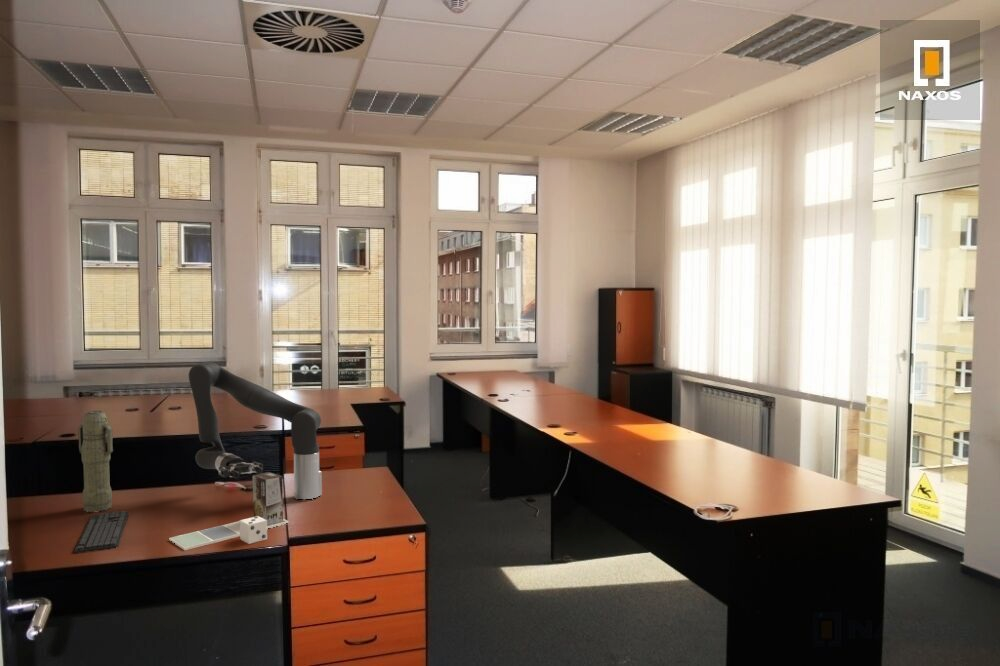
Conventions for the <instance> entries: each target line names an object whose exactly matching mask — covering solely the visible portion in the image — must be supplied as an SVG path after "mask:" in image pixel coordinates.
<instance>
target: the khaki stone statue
mask: <svg viewBox="0 0 1000 666" xmlns="http://www.w3.org/2000/svg"><path fill="white" fill-rule="evenodd" d="M108 423H109V422H108V417H107V415H106V412H104V411H102V410H90V411H87V412H86V413H84V415H83V419H82V424H80V426H79V427H78V430H77V431H78V451H79V454H81V462H82V464H83V490H82V504H83V512H84V511H88V512H94V511H102V512H104V511H103V510H106V509H109V508H111V506H113V505H112V501H113V494H112V493H113V492H112V487H111V485H110V481H111V480H110V461H111V454H112V453H113V452H114V447H113V439H114V437H113V434H114V433H113V428H112V426H111V424H108ZM111 509H112V508H111ZM109 510H110V509H109ZM106 511H107V510H106Z"/></svg>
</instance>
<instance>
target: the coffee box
mask: <svg viewBox="0 0 1000 666" xmlns="http://www.w3.org/2000/svg"><path fill="white" fill-rule="evenodd" d="M283 482H284V481H283V475H280V474H276V473H274V472H271V471H268V472H267V471H266V472H263V473H262V474H258V473H257V474H254V475H253V474H252V505H253V517H256V516H259V517H261V518H263V519H265V520H267V526H271V525H275V524H279V523H283V519H284V504H283V503H284V501H283V500H284V499H283V498H284V497H283V496H284V495H283V493H284V490H283Z"/></svg>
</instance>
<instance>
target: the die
mask: <svg viewBox="0 0 1000 666" xmlns="http://www.w3.org/2000/svg"><path fill="white" fill-rule="evenodd" d="M239 521H240V536H239V540H241V541H242V542H244V543H246V544H248V545H250V544H254V543H258V542H261V541H266V540H268V529H267V520H265V519H263V518H261V517H259V516H256V517H254V516H253V517H248V518H244V519H240V520H239Z"/></svg>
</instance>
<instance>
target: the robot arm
mask: <svg viewBox="0 0 1000 666" xmlns="http://www.w3.org/2000/svg"><path fill="white" fill-rule="evenodd" d="M188 381H189V384H190V385H189V386H190V390H191V392H192V396H193V402H194V406H195V411H196V416H197V425H198V438H199V442H201V443H211V444H212V446H209V447H206V448H202V449H200V450H198V451H197V452H196V453H195V457H194V458H195V462H196V465H198V466H199V467H200V468H202V469H206V470H216V471H218V476H220V477H223V478H225V479H226V478H228V477H229V478H234V479H240V476H241V475H244V474H252V473H256V474H257V475H258V474H262V473H264V464H263V463H261V462H257V461H252V462H251V463H250V462H245V460H244V458H242V457H240V456H238V455H235V454H233V453H230V452H229V453H228V452H226V449H225V447H224V446H223V443H222V440H221V437H220V430H219V420H218V414H217V412H216V411H215V410H216V409H215V408H214V406H213V403H212V402H213V401H212V397H211V387H214V388H217V389H220V390H222V391H223V392H226V393H228V394H229V395H230V396H231V397H232V398H234V399H235V400H236V401H237V402H238V403H239V404H241V406H243V407H245V408H247V409H250V410H252V411H253V412H256V413H259V414H261V415H266V416H271V417H275V418H278V419H279V418H280V419H282V420H285V421H287V422H290V423H291V427H290V431H291V433H290V434H291V435H290V436H291V445H292V448H293V484H294V485H293V490H294V491H293V494H294V499H295V498H296V499H295V500H297V499H312V500H314V499H313V498H316V497H318V496H320V495H322V496H323V486H322V485H323V483H322V482H323V480H322V478H323V477H322V475H323V474H322V471H321V470H320V444H319V443H318V440H317V430H318V429H319V428H320V426H321V424H322V418H321V415H320V413H318V411H316V410H315V409H314V408H311V407H307V406H304V405H301V404H298V403H296V402H293V401H291V400H289V399H286V398H285V397H283V396H281V395H279V394H277V393H276V392H274V391H271V390H269V389H267V388H265V387H263V386H261V385H258V384H257V383H254V382H251V381H249V380H248V379H245V378H243V377H240V376H237V375H236V374H235V373H232V372H230V371H229V370H227V369H225V368H224V367H222V366H220V365H218V364H217V363H215V362H212V361H204V362H200V363H197V364H195V365H194V366H192V367H191V368H190V369H189V372H188ZM320 497H321V496H320ZM318 498H319V497H318ZM316 499H317V498H316Z"/></svg>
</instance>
